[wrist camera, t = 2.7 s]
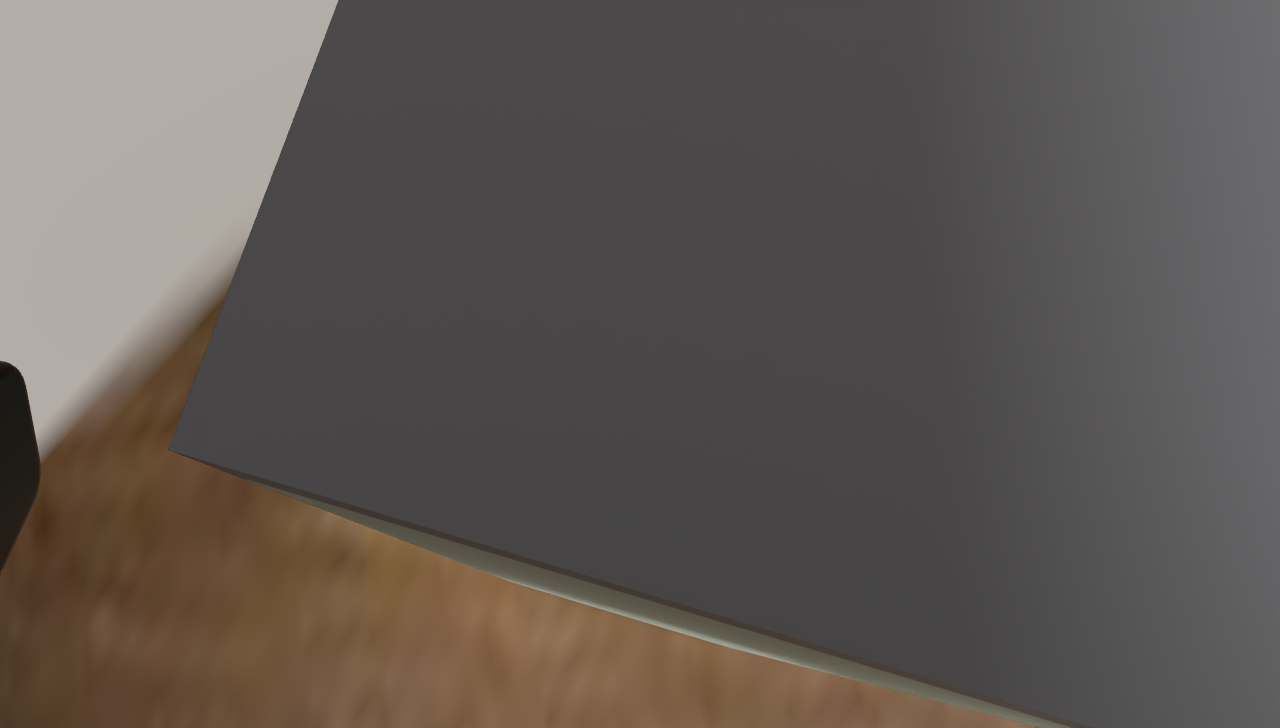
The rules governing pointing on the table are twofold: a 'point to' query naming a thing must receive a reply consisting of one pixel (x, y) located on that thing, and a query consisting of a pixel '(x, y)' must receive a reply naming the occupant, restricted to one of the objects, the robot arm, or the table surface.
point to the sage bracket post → (799, 330)
